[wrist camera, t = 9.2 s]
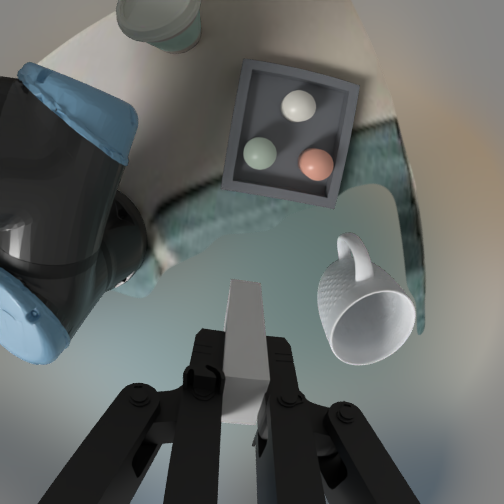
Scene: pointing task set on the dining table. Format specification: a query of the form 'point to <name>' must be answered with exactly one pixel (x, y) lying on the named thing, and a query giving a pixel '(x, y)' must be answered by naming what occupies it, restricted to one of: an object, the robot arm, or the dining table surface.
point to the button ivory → (298, 106)
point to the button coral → (315, 163)
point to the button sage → (259, 153)
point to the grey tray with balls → (289, 132)
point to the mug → (362, 306)
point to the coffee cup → (161, 22)
